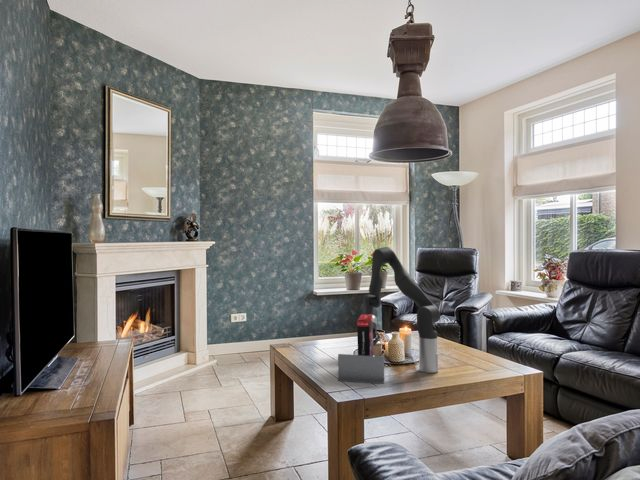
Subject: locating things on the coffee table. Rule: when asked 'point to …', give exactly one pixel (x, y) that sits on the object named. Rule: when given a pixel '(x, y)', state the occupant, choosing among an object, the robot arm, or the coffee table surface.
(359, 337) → the graphics card box
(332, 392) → the coffee table surface
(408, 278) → the robot arm
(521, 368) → the coffee table surface
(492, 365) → the coffee table surface
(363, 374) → the bracket
